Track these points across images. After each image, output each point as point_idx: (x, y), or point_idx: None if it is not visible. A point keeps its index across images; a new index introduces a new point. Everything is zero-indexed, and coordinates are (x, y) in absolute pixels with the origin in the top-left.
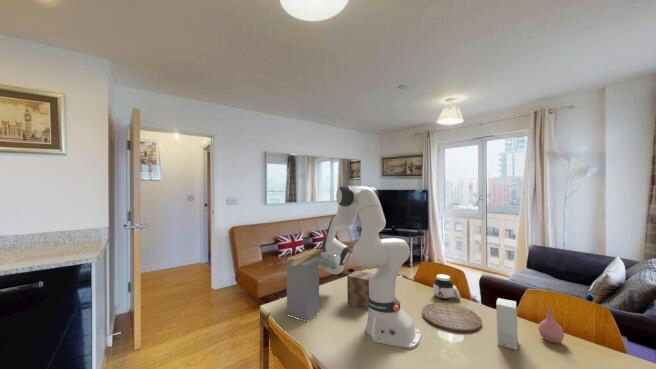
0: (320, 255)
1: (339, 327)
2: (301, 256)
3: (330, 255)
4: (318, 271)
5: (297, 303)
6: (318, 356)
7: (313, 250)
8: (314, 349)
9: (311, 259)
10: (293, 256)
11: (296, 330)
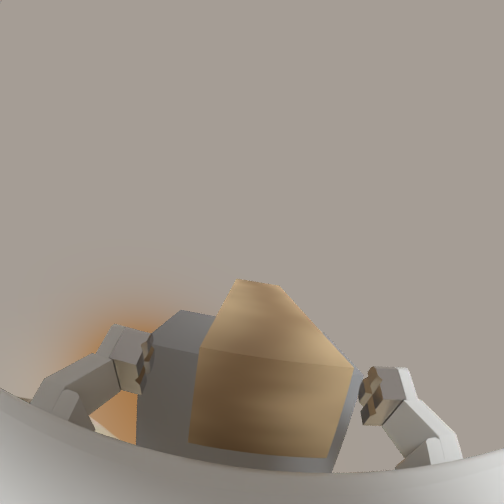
0: (150, 360)
1: None
2: (238, 285)
3: (10, 397)
4: (138, 424)
5: None
6: (89, 416)
7: (267, 325)
8: (101, 429)
9: None
10: (280, 290)
11: None
